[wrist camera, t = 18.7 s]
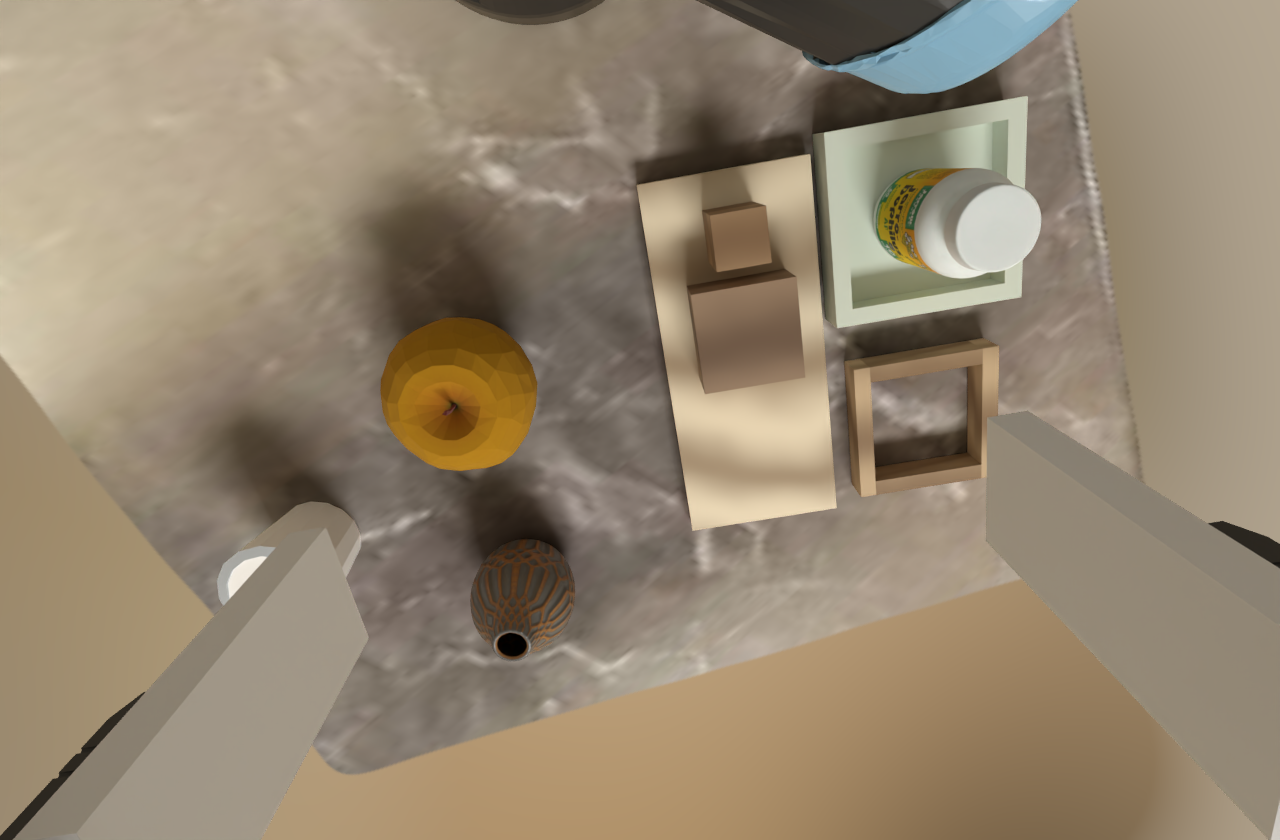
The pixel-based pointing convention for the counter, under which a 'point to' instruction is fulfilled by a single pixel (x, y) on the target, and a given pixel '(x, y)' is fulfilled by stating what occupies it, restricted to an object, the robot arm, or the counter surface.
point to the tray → (858, 175)
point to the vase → (522, 598)
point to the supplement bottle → (957, 221)
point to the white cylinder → (295, 520)
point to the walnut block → (747, 330)
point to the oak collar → (863, 371)
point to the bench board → (759, 415)
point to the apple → (459, 393)
